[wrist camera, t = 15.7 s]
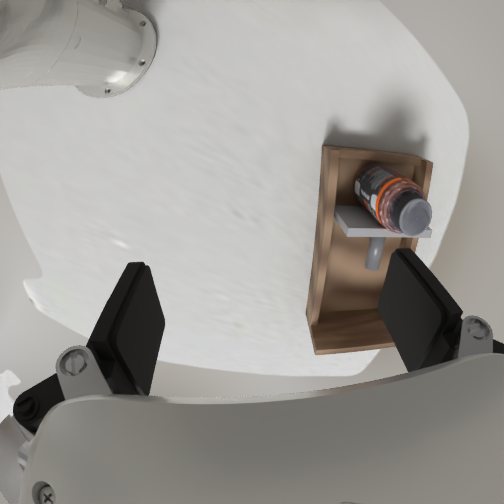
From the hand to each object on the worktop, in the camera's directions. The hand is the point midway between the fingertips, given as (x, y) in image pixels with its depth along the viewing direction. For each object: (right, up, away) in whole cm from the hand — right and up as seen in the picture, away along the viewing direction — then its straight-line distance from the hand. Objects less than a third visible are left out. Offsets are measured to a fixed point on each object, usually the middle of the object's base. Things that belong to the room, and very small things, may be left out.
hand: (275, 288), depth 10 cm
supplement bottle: (+15, +10, +23) cm, 29 cm away
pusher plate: (+15, +4, +26) cm, 30 cm away
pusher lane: (+15, +3, +28) cm, 32 cm away
